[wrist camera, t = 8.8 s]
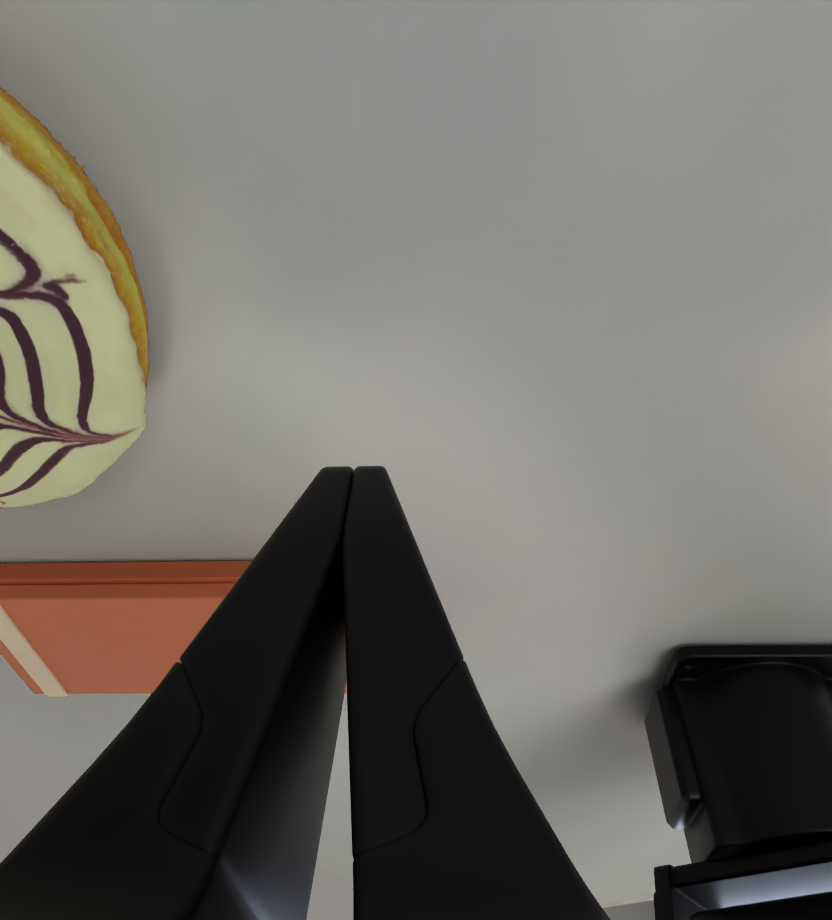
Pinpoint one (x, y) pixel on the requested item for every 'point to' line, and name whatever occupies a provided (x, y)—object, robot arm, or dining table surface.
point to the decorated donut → (62, 321)
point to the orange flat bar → (106, 621)
